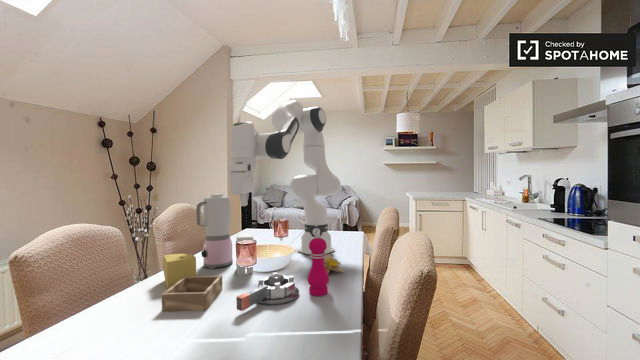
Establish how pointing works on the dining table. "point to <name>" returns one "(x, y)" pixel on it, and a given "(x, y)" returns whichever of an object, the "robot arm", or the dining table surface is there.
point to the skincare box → (240, 238)
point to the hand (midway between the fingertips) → (244, 205)
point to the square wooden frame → (192, 293)
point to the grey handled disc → (266, 292)
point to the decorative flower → (331, 264)
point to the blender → (216, 230)
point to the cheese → (178, 267)
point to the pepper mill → (318, 267)
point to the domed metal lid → (279, 301)
